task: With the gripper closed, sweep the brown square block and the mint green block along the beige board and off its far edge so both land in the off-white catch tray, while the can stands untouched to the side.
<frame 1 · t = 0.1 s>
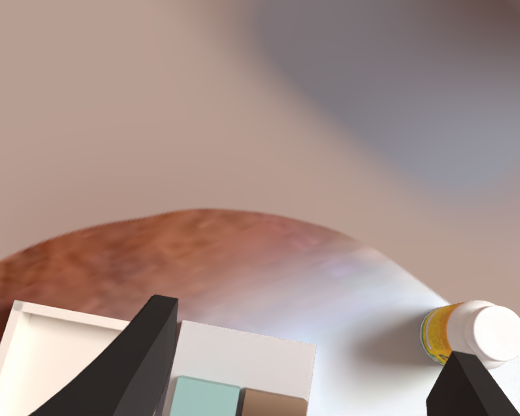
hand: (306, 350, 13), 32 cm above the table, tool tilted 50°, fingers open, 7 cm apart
beige board: (234, 414, 42), on the table
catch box: (82, 385, 42), on the table
mint green block: (204, 411, 40), point 1 cm above the table, touching beige board
supplement bottle: (445, 336, 44), on the table
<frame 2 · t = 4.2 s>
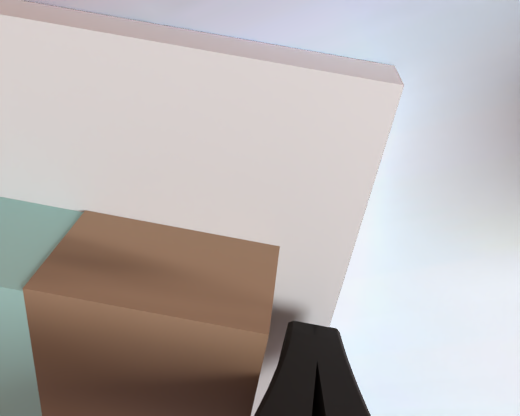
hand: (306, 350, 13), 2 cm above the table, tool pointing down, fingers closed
beige board: (135, 258, 15), on the table
mint green block: (3, 270, 13), point 2 cm above the table, touching brown square block
brown square block: (176, 301, 13), point 2 cm above the table, touching gripper, mint green block
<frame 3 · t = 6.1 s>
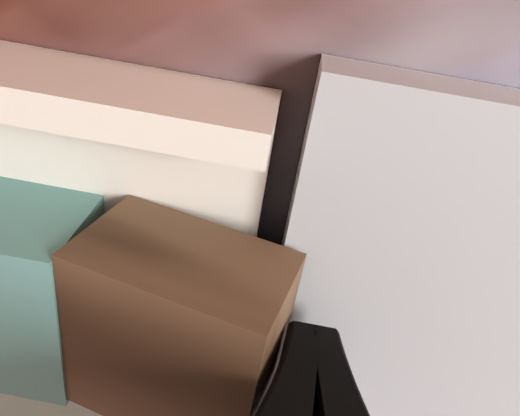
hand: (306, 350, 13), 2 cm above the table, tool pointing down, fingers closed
beige board: (467, 319, 15), on the table
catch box: (34, 239, 15), on the table
mint green block: (24, 251, 14), point 1 cm above the table, touching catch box
brown square block: (205, 295, 14), point 1 cm above the table, tilted 14°, touching gripper
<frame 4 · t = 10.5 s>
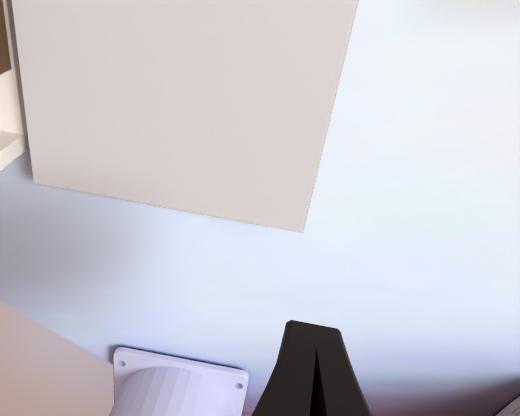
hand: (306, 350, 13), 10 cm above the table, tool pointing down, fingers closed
beige board: (186, 36, 18), on the table
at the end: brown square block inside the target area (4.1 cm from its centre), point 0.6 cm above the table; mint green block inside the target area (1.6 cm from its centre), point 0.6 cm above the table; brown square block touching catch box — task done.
